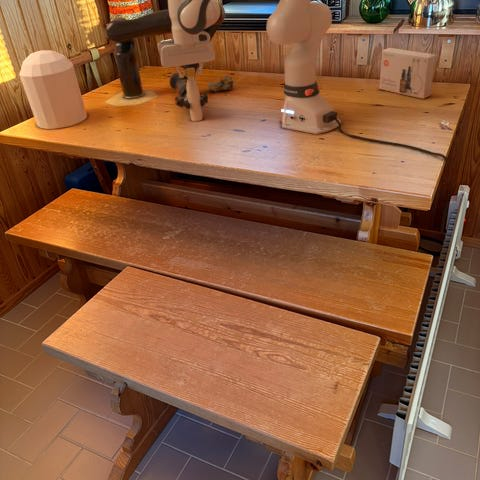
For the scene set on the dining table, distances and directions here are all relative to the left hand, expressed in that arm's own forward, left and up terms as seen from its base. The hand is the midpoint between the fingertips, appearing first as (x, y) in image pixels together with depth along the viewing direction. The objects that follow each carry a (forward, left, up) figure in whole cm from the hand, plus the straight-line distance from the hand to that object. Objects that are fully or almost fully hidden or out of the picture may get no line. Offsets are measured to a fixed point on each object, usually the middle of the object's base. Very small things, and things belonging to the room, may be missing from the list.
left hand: (196, 105), depth 178 cm
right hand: (-2, +1, +10) cm, 11 cm away
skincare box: (+44, +72, -6) cm, 85 cm away
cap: (-2, +1, +13) cm, 13 cm away
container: (-50, -36, -6) cm, 61 cm away
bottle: (-2, +1, -6) cm, 7 cm away
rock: (-24, +31, -6) cm, 40 cm away
